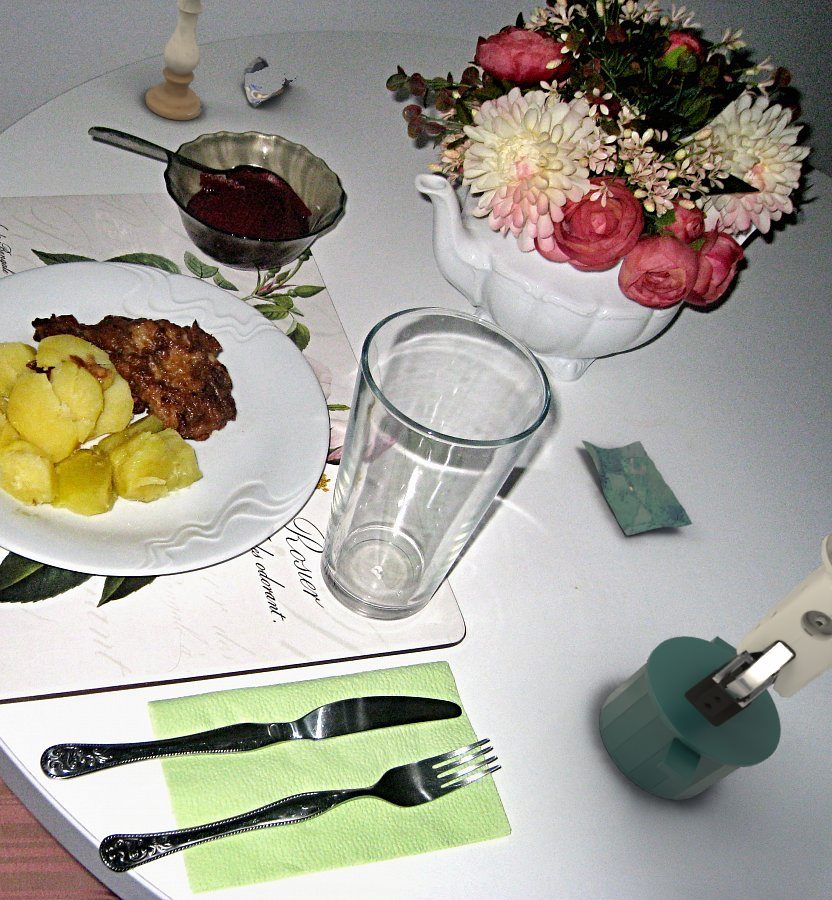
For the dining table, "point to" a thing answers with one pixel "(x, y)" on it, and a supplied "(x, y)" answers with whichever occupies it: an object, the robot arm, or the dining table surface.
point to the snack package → (257, 93)
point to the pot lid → (727, 744)
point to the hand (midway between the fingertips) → (731, 679)
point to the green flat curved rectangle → (636, 489)
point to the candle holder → (179, 68)
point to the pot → (654, 743)
